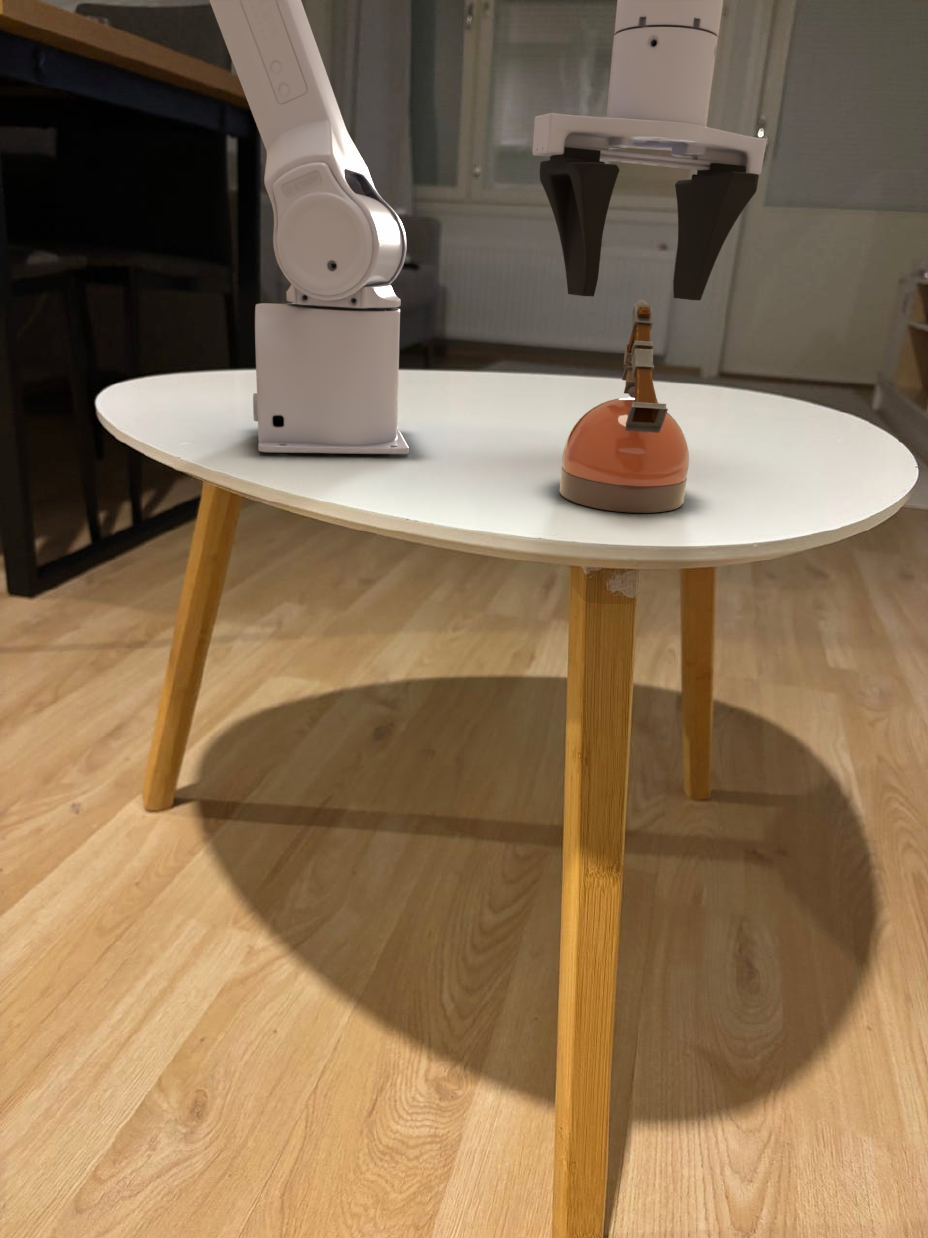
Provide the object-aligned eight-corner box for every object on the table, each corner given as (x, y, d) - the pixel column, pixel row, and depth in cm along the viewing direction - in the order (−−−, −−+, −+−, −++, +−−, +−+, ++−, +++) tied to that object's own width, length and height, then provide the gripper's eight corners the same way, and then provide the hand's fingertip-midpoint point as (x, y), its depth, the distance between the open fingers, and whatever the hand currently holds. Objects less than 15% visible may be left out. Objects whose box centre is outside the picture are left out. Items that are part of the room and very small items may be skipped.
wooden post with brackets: (643, 352, 52) (661, 290, 48) (649, 463, 48) (669, 406, 44) (612, 350, 52) (627, 288, 48) (615, 461, 48) (632, 403, 44)
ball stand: (576, 540, 49) (590, 407, 46) (543, 505, 55) (553, 387, 52) (699, 540, 50) (719, 411, 47) (653, 505, 56) (668, 390, 54)
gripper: (726, 65, 57) (694, 296, 62) (516, 33, 51) (500, 289, 56) (805, 46, 51) (763, 304, 56) (577, 7, 45) (553, 296, 50)
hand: (635, 297), depth 56 cm, fingers open, 7 cm apart
